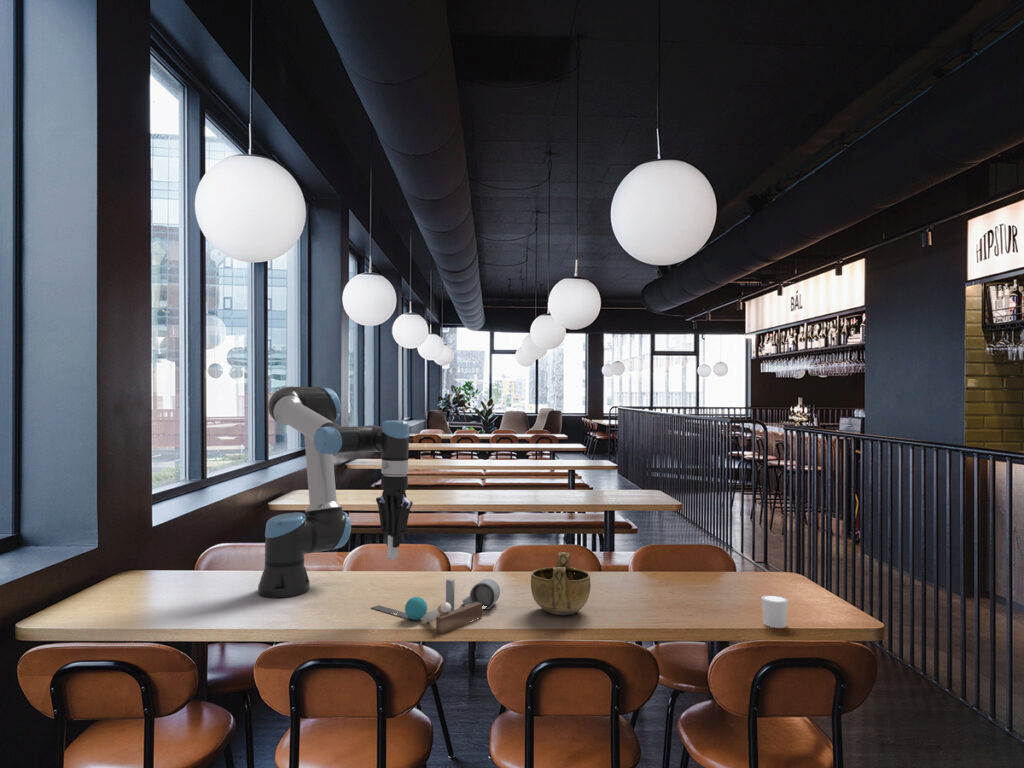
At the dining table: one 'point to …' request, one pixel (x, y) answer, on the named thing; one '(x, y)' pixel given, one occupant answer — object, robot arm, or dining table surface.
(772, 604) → the white cup
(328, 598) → the dining table surface
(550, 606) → the ceramic bowl
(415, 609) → the ball
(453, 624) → the backstop
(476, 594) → the ceramic mug
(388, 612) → the grey flat bar
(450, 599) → the grey pin
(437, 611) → the white pin
